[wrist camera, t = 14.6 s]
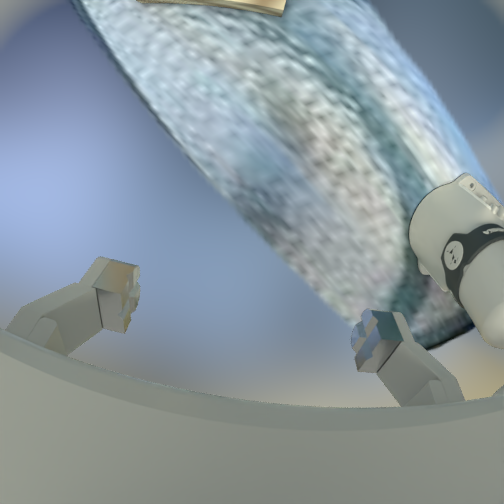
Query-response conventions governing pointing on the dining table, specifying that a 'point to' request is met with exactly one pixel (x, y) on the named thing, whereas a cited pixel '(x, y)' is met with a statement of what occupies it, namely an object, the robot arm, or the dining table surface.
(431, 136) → the dining table surface
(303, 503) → the robot arm
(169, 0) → the hole block
